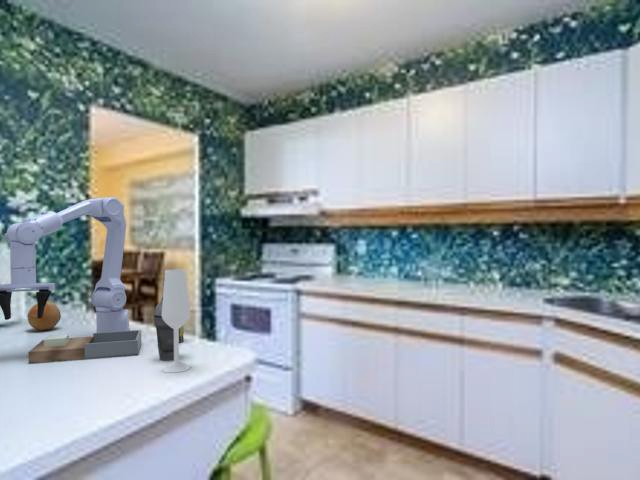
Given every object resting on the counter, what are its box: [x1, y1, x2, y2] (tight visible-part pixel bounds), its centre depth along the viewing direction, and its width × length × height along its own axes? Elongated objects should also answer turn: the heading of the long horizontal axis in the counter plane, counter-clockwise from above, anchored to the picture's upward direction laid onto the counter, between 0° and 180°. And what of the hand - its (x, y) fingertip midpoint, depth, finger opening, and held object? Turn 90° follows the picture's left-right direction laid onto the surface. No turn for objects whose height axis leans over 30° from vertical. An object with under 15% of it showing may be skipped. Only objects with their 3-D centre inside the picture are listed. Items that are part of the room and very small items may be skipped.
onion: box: [26, 300, 62, 332], centre depth 160 cm, size 10×10×10 cm
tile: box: [43, 333, 70, 347], centre depth 128 cm, size 5×5×2 cm
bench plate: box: [27, 336, 93, 365], centre depth 128 cm, size 13×14×3 cm
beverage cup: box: [153, 282, 180, 362], centre depth 124 cm, size 7×7×20 cm
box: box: [84, 329, 142, 360], centre depth 132 cm, size 13×14×4 cm
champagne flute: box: [161, 269, 191, 373], centre depth 115 cm, size 7×7×24 cm
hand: (24, 318), depth 126 cm, fingers open, 7 cm apart
